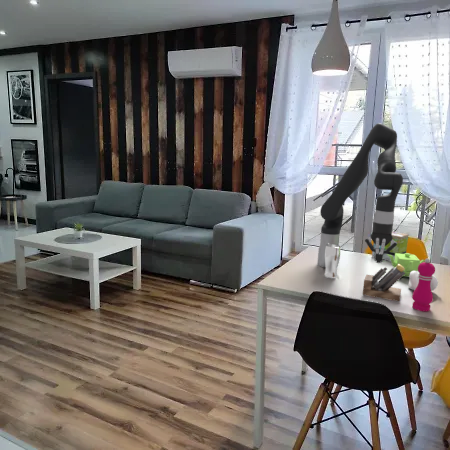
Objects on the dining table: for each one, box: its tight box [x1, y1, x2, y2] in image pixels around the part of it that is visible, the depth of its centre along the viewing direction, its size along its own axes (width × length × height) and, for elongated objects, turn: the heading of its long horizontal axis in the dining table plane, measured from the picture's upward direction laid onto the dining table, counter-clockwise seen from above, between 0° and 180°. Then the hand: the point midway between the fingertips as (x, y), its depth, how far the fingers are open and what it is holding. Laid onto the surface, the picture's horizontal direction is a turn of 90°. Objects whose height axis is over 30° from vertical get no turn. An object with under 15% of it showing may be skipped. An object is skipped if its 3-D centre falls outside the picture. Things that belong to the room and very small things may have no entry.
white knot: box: [407, 271, 439, 292], centre depth 181 cm, size 11×12×9 cm
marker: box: [378, 264, 405, 289], centre depth 173 cm, size 3×3×12 cm
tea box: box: [371, 230, 409, 262], centre depth 231 cm, size 15×10×15 cm
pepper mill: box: [411, 258, 436, 312], centre depth 160 cm, size 7×7×20 cm
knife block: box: [362, 266, 405, 302], centre depth 174 cm, size 15×9×11 cm, turn 65°
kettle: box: [386, 252, 425, 279], centre depth 201 cm, size 15×14×11 cm
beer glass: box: [323, 244, 341, 280], centre depth 195 cm, size 7×7×15 cm
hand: (378, 262), depth 174 cm, fingers closed
